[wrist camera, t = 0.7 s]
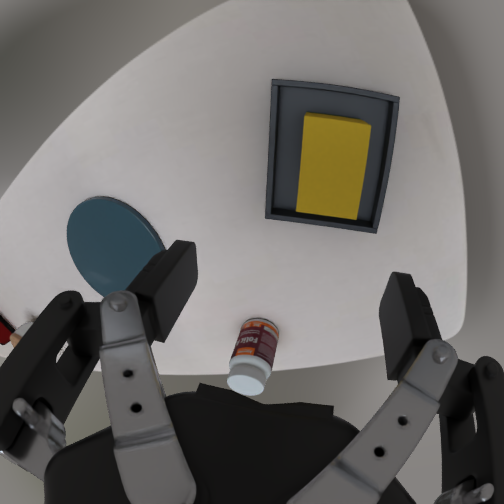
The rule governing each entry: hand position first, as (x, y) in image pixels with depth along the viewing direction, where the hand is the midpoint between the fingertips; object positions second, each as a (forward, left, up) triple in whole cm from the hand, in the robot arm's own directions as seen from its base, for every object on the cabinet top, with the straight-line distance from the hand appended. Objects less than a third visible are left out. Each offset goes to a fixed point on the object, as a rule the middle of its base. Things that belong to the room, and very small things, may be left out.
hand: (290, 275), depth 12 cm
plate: (+12, -22, -16) cm, 30 cm away
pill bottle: (+20, -3, -16) cm, 26 cm away
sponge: (-2, +2, -15) cm, 16 cm away
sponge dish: (-2, +2, -16) cm, 16 cm away
